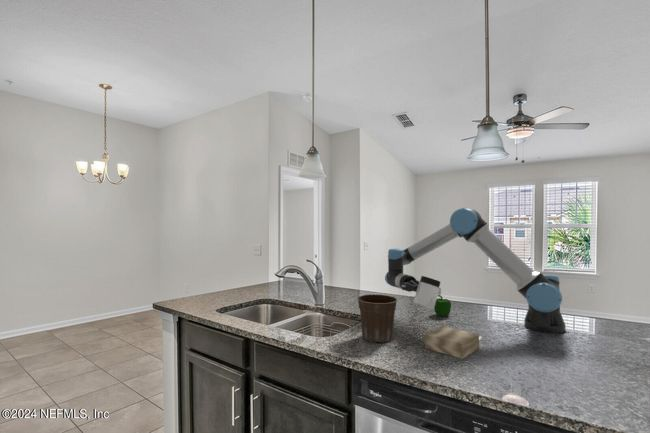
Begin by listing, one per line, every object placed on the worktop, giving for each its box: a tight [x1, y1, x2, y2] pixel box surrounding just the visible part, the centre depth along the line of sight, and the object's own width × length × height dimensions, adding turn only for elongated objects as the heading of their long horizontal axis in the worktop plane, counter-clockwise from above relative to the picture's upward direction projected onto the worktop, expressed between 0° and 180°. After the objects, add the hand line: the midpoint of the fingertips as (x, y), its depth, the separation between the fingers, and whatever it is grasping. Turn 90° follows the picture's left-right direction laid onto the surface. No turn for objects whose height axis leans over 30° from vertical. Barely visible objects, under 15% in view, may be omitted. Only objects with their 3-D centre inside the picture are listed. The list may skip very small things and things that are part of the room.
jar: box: [413, 275, 441, 311], centre depth 140 cm, size 9×8×12 cm
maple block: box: [424, 325, 480, 360], centre depth 122 cm, size 14×14×5 cm
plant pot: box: [356, 293, 398, 344], centre depth 133 cm, size 16×16×16 cm
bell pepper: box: [434, 294, 452, 317], centre depth 166 cm, size 8×8×10 cm
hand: (436, 291), depth 137 cm, fingers closed on jar, 3 cm apart
